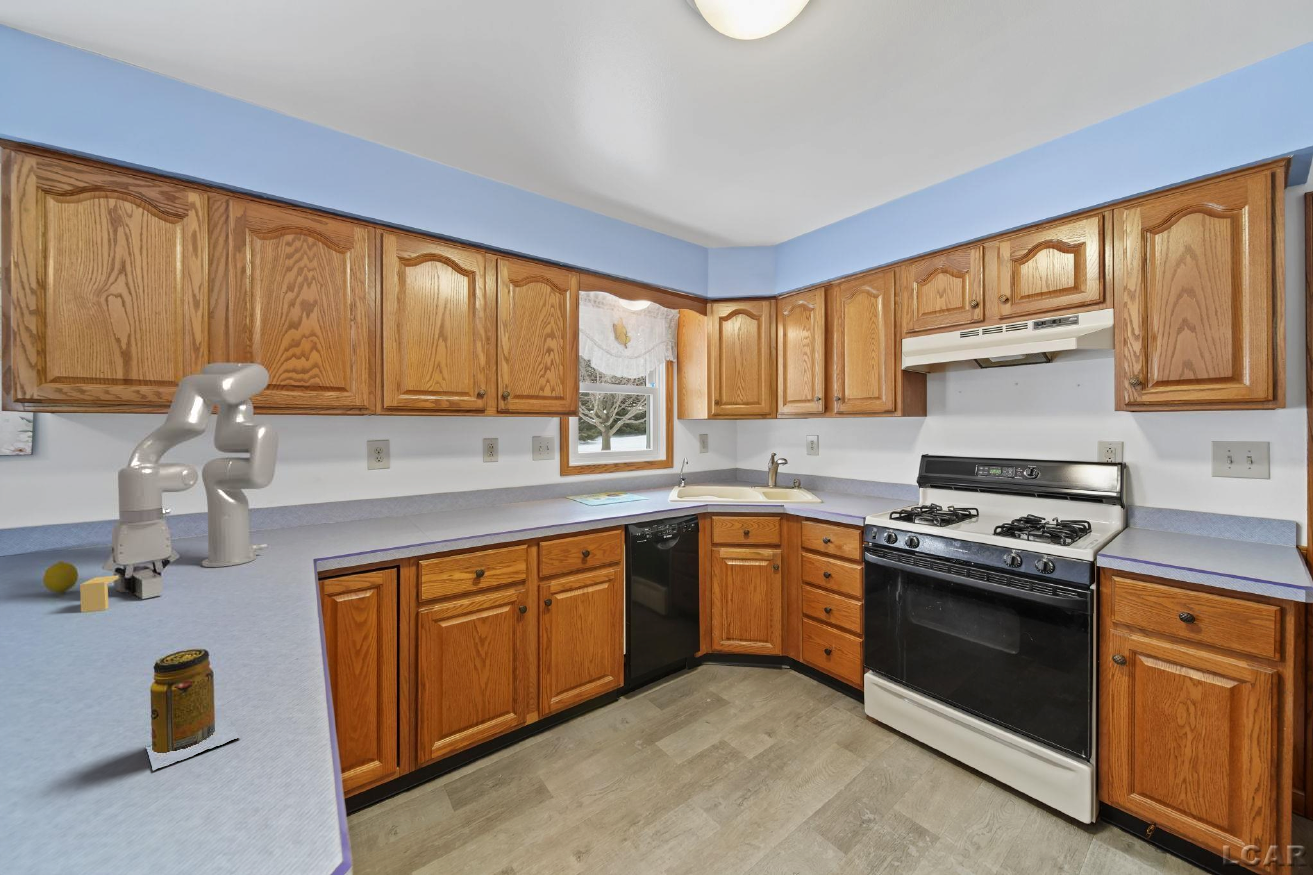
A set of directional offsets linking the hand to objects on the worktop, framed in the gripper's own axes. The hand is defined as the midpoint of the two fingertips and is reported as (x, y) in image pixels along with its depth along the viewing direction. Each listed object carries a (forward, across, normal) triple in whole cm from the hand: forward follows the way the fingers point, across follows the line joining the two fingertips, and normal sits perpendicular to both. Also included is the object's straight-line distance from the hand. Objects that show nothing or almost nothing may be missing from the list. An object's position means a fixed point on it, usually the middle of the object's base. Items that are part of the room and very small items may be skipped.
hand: (143, 589), depth 127 cm
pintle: (+1, 0, -7) cm, 7 cm away
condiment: (+1, +14, +88) cm, 89 cm away
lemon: (+1, +11, -16) cm, 20 cm away
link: (0, 0, -1) cm, 1 cm away
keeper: (+1, +8, +5) cm, 10 cm away
